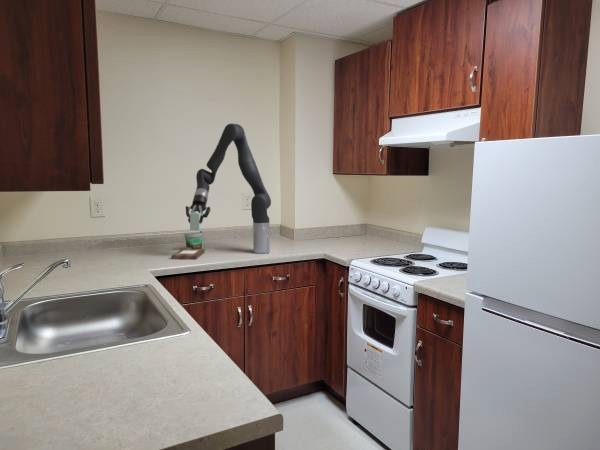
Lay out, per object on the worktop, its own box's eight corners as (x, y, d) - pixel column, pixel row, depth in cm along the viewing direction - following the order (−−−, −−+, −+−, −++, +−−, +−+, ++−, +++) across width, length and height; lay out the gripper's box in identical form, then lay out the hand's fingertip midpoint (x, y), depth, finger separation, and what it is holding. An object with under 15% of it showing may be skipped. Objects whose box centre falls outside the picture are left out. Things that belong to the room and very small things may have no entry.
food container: (191, 251, 257) (191, 234, 256) (184, 250, 261) (184, 233, 259) (208, 248, 267) (207, 231, 265) (201, 247, 270) (200, 230, 269)
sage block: (201, 229, 246) (201, 211, 245) (199, 230, 241) (199, 212, 240) (192, 228, 247) (192, 211, 245) (190, 230, 242) (189, 212, 240)
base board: (204, 252, 254) (204, 248, 254) (196, 259, 237) (196, 255, 236) (181, 252, 255) (181, 248, 255) (171, 259, 237) (171, 255, 237)
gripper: (186, 193, 249) (180, 217, 239) (212, 194, 248) (206, 218, 238) (189, 202, 255) (183, 226, 245) (214, 202, 254) (209, 227, 244)
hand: (194, 222), depth 242 cm, fingers closed on sage block, 5 cm apart
